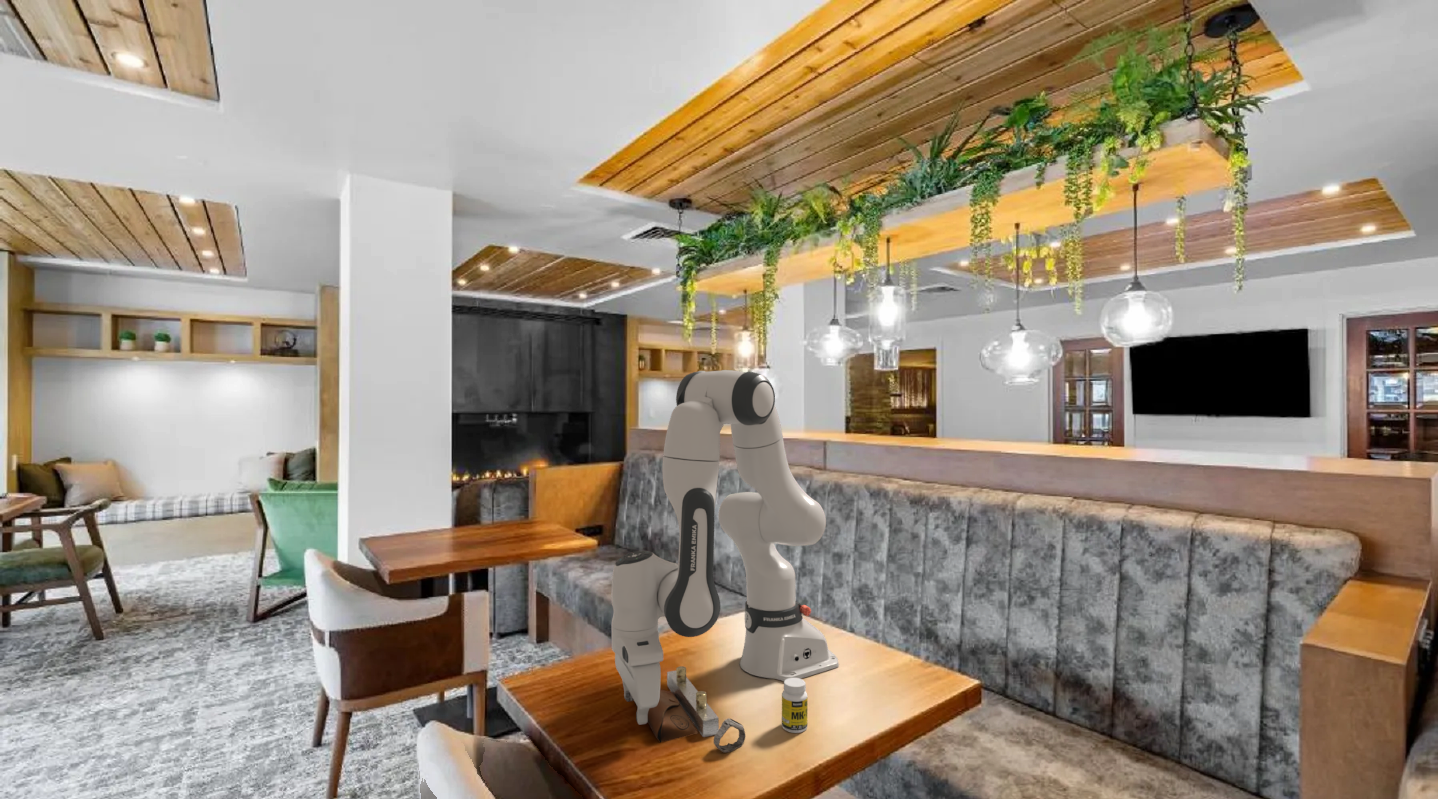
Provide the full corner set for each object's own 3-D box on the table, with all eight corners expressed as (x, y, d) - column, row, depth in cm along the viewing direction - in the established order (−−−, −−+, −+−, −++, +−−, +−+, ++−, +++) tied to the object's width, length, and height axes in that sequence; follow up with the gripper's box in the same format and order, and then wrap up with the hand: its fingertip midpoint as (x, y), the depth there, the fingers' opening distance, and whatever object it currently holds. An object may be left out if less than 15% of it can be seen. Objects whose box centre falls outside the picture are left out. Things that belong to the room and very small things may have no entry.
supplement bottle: (791, 736, 117) (791, 690, 117) (776, 724, 121) (776, 679, 121) (812, 729, 119) (812, 684, 119) (797, 718, 123) (797, 674, 123)
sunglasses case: (702, 733, 118) (684, 705, 116) (670, 760, 115) (652, 732, 114) (672, 691, 134) (656, 666, 133) (643, 714, 132) (627, 689, 131)
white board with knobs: (680, 683, 138) (680, 658, 138) (718, 734, 118) (718, 704, 117) (667, 686, 137) (667, 660, 137) (703, 737, 116) (703, 707, 116)
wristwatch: (749, 746, 113) (749, 718, 113) (721, 759, 110) (721, 729, 110) (736, 738, 116) (736, 710, 116) (708, 750, 112) (708, 721, 112)
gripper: (607, 622, 131) (607, 690, 132) (631, 661, 112) (632, 740, 113) (637, 618, 134) (637, 684, 134) (666, 655, 115) (666, 733, 115)
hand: (635, 710), depth 123 cm, fingers open, 8 cm apart
